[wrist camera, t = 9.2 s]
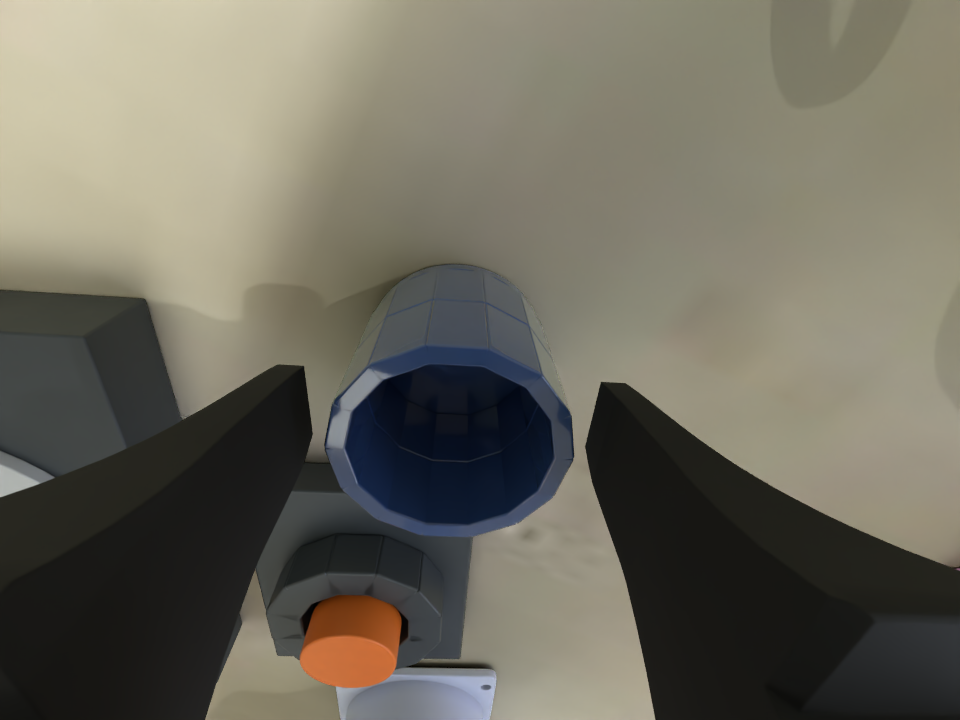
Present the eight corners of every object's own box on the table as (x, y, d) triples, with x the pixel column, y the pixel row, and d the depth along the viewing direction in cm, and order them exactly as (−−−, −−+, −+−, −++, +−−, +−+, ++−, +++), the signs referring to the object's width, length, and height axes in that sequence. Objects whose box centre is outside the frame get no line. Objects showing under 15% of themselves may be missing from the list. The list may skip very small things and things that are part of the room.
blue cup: (531, 419, 16) (555, 541, 11) (371, 411, 15) (333, 533, 11) (555, 270, 13) (598, 354, 9) (363, 257, 13) (311, 337, 8)
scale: (242, 623, 21) (212, 695, 19) (-35, 618, 20) (-106, 691, 18) (146, 298, 13) (70, 344, 11) (-311, 270, 13) (-505, 312, 10)
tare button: (402, 644, 18) (396, 689, 16) (317, 642, 17) (304, 688, 16) (401, 592, 16) (395, 637, 15) (308, 590, 16) (293, 635, 14)
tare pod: (460, 628, 22) (459, 701, 19) (287, 624, 21) (262, 698, 19) (476, 468, 17) (478, 537, 14) (251, 459, 16) (210, 528, 14)
